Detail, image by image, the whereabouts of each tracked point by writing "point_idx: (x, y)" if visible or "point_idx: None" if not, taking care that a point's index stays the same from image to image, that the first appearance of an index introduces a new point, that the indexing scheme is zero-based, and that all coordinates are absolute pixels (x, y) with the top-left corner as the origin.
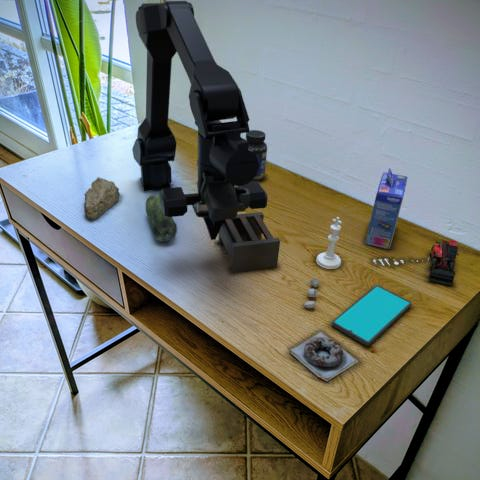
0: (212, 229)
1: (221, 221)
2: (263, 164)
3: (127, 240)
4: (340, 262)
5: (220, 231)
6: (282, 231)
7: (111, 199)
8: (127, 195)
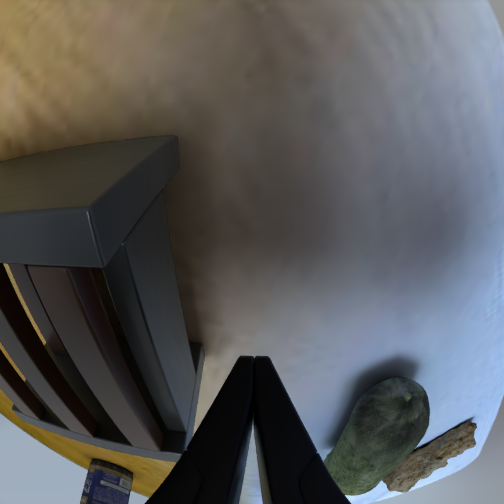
0: (270, 432)
1: (182, 497)
2: (86, 485)
3: (463, 378)
4: None
5: (191, 397)
6: None
7: (410, 463)
8: None
